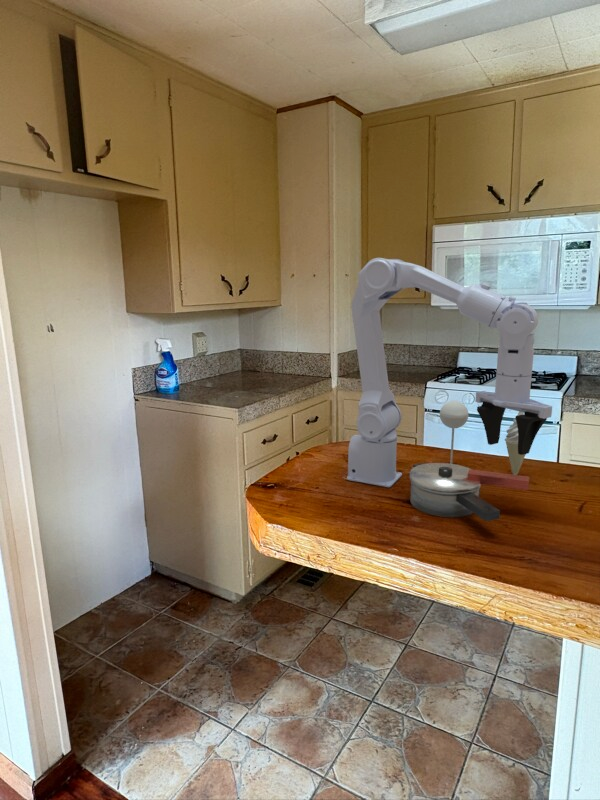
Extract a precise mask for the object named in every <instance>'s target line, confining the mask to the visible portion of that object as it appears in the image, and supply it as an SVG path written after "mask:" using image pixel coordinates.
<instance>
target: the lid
mask: <svg viewBox="0 0 600 800" xmlns="http://www.w3.org/2000/svg"><path fill="white" fill-rule="evenodd" d="M409 479H411V481H412V482H413V483H415V484H417V485H418V486H421V487H423V488H426V489H430V490H434V491H440V492H466V491H471V490H474V489H476V488H478V487H479V486H480V485H481V486H482V485H487V486H494V487H501V488H508V489H516V490H522V491H523V490H524V491H529V489H530V488H529V486H530V476H527V475H520V474H519V475H518V474H517V475H513V473H511V474H510V473H504V472H495V471H489V470H488V471H486V470H478V469H473V468H470V467H468V466H463V465H460V464H454V463H452V464H450V463H448V462H447V463H446V462H428V463H426V464H422V465H418V466H416V467H414V468H413V467H412V468H411V469H410V470H409ZM411 481H410V482H411Z"/></svg>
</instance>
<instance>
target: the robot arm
mask: <svg viewBox="0 0 600 800" xmlns="http://www.w3.org/2000/svg"><path fill="white" fill-rule="evenodd" d="M357 276H358V277H357V278H358V282H357V285H356V288H355V290H354V294H353V297H352V300H351V307H350V308H351V315H352V323H353V328H354V330H353V331H354V336H355V337H354V338H355V344H356V345H355V346H356V352H357V359H358V365H359V367H358V368H359V375H360V382H361V383H360V384H361V389H362V394H361V397H360V399H359V402H358V405H357V406H358V415H357V419H356V423H355V424H356V430H357V433H359V434H354V435H352V436H351V438H350V441H349V444H348V451H347V452H348V456H347V457H348V458H347V460H348V461H347V463H348V464H347V465H348V466H347V477H346V480H348V481H352V482H356V483H357V482H358V483H362V484H363V483H364V484H368V485H372V486H373V485H374V486H378V487H383V488H392V486H394V484H395V483H396V482H397V481H398V480H399V479H400V478H401V477H402V476H403V473H402V472H399V471H397V447H398V445H397V444H398V443H397V441H398V439H397V438H398V434H397V431H396V429H397V428H398V427H399V426H400V424H401V422H402V417H403V416H402V412H401V410H400V407H399V406H398V404H397V402H396V397H395V394H394V393H393V392H392V390H391V389H390V384H389V383H390V382H389V378H388V369H387V361H386V353H385V344H384V338H383V337H384V336H383V330H382V322H381V313H380V311H381V309H382V308H383V307H384V306H385V304H386V303H387V302H388V301H389V300H390V298H392V297H394V296H395V295H396V294H398V293H400V292H401V291H403V290H405V289H407V288H408V289H409V288H410V289H411V288H418V289H420V290H422V291H425V292H427V293H430V294H431V295H433V296H437V297H439V298H441V299H444V300H445V301H449V302H451V303H454V304H456V306H457V309H458V312H459V314H461V316H464V317H467V318H469V319H471V320H472V321H473V320H474V321H475V322H477V323H480V324H482V325H484V326H486V327H488V328H491V329H495V328H496V329H497V331H498V334H500V336H499V345H498V348H497V360H496V361H497V363H496V373H495V374H496V375H495V388H494V392H493V391H492V392H491V391H486V390H481V391H476V392H475V403H479V404H481V403H482V404H481V405H479V406H477V408H476V411H477V413H478V415H479V417H480V419H481V422H482V423H483V424H482V425H483V427H484V431H485V435H486V441H487V444H488V445H489V446H491V445H492V446H493V445H496V444H499V441H500V436H501V426H502V421H503V417H504V415H505V413H506V409H508V410H512V411H516V412H518V413H519V412H523V414H524V415H518V414H517V415H518V416H517V415H516V416H515V418H514V419H516V422H517V427H518V454H520V455H524V454H526V455H528V454H529V453H530V450H531V449H532V445H533V443H534V441H535V439H536V436H537V434H538V433H539V431H540V429H541V427H542V426H543V425H544V424H545V422H546V421H547V419H548V418H552V415H553V406H552V405H549V404H546V403H543V402H540V401H537V400H536V399H532V398H530V397H531V388H532V387H531V386H532V375H533V364H534V354H535V348H534V343H535V334H534V333H533V332H534V331H535V329H536V328H537V326H538V323H539V315H538V313H537V311H536V309H535V308H534V307H532V306H531V305H529V304H528V303H527V302H523V301H521V302H516V300H517V298H516V297H514V296H512V295H509V297H508V296H505V295H502V294H501V293H498V292H495V291H494V290H491V285H489V284H486V283H482V284H481V285H480V284H478V283H473V284H471V285H469V286H466V287H465V286H463V285H461V284H460V283H457V282H454V281H453V280H450V279H449V278H446V277H444V276H442V275H440V274H438V273H436V272H434V271H432V270H430V269H428V268H427V267H424V266H421V265H420V264H415V263H411V262H405V261H404V260H403V259H398V258H391V259H390V258H389V259H388V258H385V257H384V258H382V257H376V258H375V257H374V258H372V259H370V260H369V261H368V262H367V263H366V264H365V265H364V266H363V268H362V269H361V270H360V271H359V272H358V273H357ZM515 302H516V303H515Z"/></svg>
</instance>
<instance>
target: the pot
mask: <svg viewBox="0 0 600 800" xmlns="http://www.w3.org/2000/svg"><path fill="white" fill-rule="evenodd" d="M422 464H427V463H426V462H422V463H413V465H412V468H414V467H416V466H418V465H422ZM409 479H410V478H409ZM409 481H410V503H411V505H412V506H413V508H415V509H417V510H418V511H420V512H423V513H425V514H428V515H433V516H437V517H443V518H461V517H466V516H470V515H472V514H473V515H474V514H475V515H476V516H478V517H479V518H481V519H482V520H483V521H485V522H488V521H495V520H500V516H501V510H500V509H498V508H497V507H495V506H493V504H491V503H489V502H487V500H486V501H485V500H484V499H482V497H479V496H480V489H481V486H482V484H481V485H480V486H479V487H478V488H476V489H474V490H471V491H466V492H440V491H434V490H430V489H426V488H423V487H421V486H418V485H417V484H415V483H413V482H412V481H411V479H410V480H409Z"/></svg>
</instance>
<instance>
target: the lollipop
mask: <svg viewBox="0 0 600 800" xmlns="http://www.w3.org/2000/svg"><path fill="white" fill-rule="evenodd" d="M469 415H470V414H469V410H468V408H467V406H466V405H465V404H464V403H463V402H461V401H458V400H451V401H447V402H445V403H444V404H443V405H442V406H441V408H440V410H439V419H440V421H441V423H442V424H443V425H444V426H445V427H447V428H449V429H451V444H450V461H449V464H453V459H454V458H453V457H454V455H453V454H454V442H455V441H454V440H455V429H458V428H459V429H460V428H461V427H463V426H464V425H465V424H466V423H467V421H468V419H469Z"/></svg>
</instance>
